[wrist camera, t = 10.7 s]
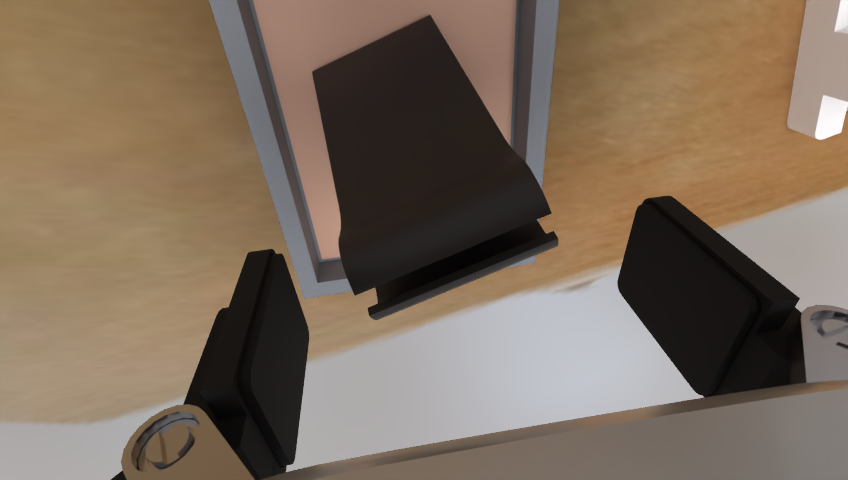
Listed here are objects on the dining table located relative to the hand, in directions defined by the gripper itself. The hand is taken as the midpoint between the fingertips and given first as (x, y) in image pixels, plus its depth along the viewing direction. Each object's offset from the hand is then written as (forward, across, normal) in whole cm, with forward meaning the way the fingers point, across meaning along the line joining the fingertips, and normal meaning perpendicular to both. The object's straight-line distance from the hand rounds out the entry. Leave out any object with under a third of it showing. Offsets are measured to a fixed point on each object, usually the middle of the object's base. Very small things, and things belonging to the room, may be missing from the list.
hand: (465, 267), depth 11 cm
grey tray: (+14, +1, +1) cm, 14 cm away
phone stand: (+13, 0, +1) cm, 13 cm away
